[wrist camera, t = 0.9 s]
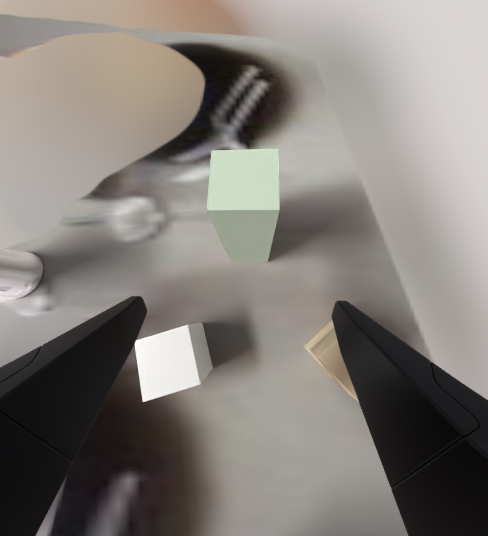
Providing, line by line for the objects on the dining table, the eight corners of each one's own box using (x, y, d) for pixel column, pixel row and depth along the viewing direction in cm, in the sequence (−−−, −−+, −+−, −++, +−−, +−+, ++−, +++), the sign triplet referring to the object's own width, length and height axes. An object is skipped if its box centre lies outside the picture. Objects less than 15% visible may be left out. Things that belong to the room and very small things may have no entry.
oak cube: (371, 351, 21) (407, 362, 16) (339, 385, 20) (365, 408, 15) (335, 315, 22) (358, 315, 17) (303, 346, 21) (318, 355, 16)
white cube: (213, 368, 21) (200, 384, 16) (169, 382, 21) (143, 402, 16) (202, 322, 22) (187, 324, 17) (160, 335, 22) (134, 341, 17)
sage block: (267, 262, 23) (279, 209, 12) (230, 261, 24) (206, 210, 12) (267, 227, 24) (278, 148, 13) (232, 227, 25) (211, 150, 13)
